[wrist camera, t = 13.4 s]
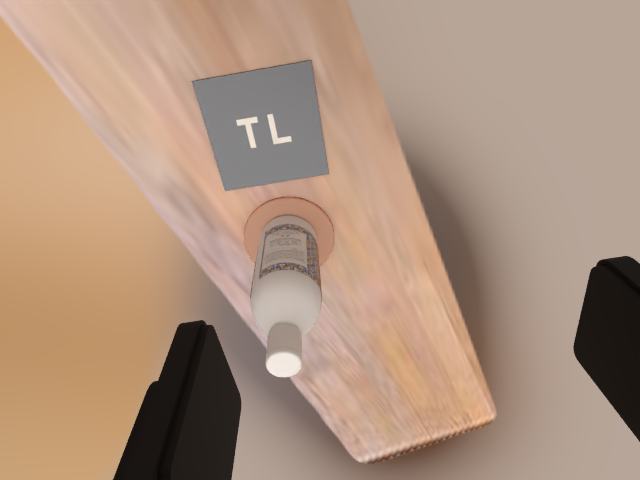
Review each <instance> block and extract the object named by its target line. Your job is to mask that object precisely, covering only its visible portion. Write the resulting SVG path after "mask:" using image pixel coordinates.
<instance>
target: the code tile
mask: <svg viewBox="0 0 640 480" xmlns="http://www.w3.org/2000/svg"><path fill="white" fill-rule="evenodd" d="M192 83H193V86H194V90H195V93H196V96H197V100H198V103H199V106H200V109H201V113H202V116H203V119H204V123H205V126H206V129H207V133H208V136H209V139H210V143H211V146H212V149H213V153H214V156H215V159H216V162H217V166H218V169H219V172H220V176H221V179H222V182H223V186H224V189H225V191H229V190H235V189H241V188H247V187H253V186H259V185H265V184H271V183H277V182H283V181H289V180H295V179H302V178H308V177H314V176H320V175H326V174H329V172H328V166H327V159H326V153H325V146H324V140H323V133H322V127H321V121H320V114H319V108H318V101H317V95H316V89H315V82H314V76H313V69H312V63H311V60H310V61H305V62H299V63H293V64H288V65H282V66H276V67H271V68H265V69H260V70H254V71H248V72H243V73H237V74H231V75H226V76H220V77H214V78H209V79H203V80H197V81H192Z"/></svg>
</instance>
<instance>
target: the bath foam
mask: <svg viewBox="0 0 640 480" xmlns="http://www.w3.org/2000/svg"><path fill="white" fill-rule="evenodd" d="M250 298H251V310H252V314H253V317H254V320H255V322H256V324H257V325H258V327H259V328H260V329H261V331H262V332H263V333H264V334H265V335H266V336H267V337H268V342H267V352H266V368H267V369H268V371H269V372H270V373H271V374H273V375H275V376H278V377H289V376H292V375H294V374H296V373H297V372H298V371H299V370H300V368H301V365H302V337H303V336H305V335H306V334H307V333H308V332H309V331H310V329H311V328H312V327H313V326H314V324H315V322H316V321H317V318H318V316H319V313H320V309H321V302H322V292H321V279H320V266H319V254H318V243H317V236H316V233H315V230H314V229H313V227H312V226H311V225H310V224H309V223H308V222H307V221H305V220H303V219H301V218H299V217H296V216H281V217H278V218H275V219H273V220H271V221H270V222H269V223H268V224H267V225H266V226H265V227H264V228H263V230H262V232H261V235H260V241H259V247H258V251H257V257H256V263H255V270H254V276H253V282H252V288H251V295H250Z"/></svg>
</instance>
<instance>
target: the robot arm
mask: <svg viewBox="0 0 640 480" xmlns="http://www.w3.org/2000/svg"><path fill="white" fill-rule="evenodd" d="M574 353H575V356H576V358H577V360H578V361H579V363H580V364H581V365H582V367H583V368H584V369H585V371H586V372H587V373H588V375H589V376H590V377H591V379H592V380H593V381H594V382H595V384H596V385H597V386H598V388H599V389H600V390H601V392H602V393H603V394H604V396H605V397H606V398H607V399H608V401H609V402H610V403H611V405H612V406H613V407H614V409H615V410H616V411H617V412H618V413H619V415H620V416H621V418H622V419H623V420H624V422H625V423H626V424H627V426H628V427H629V428H630V430H631V431H632V432H633V433H634V435H635V436H636V437H637V439H638V440H639V441H640V264H639V263H638V262H637V261H636V260H634V259H633V258H631V257H628V256H623V257H616V258H609V259H603V260H600V261H599V262H598V263H597V265H596V267H593V268H592V269H591V272H590V276H589V280H588V285H587V289H586V293H585V298H584V302H583V306H582V311H581V315H580V320H579V324H578V328H577V333H576V337H575V342H574ZM240 412H241V397H240V393H239V391H238V388H237V385H236V383H235V380H234V378H233V375H232V373H231V370H230V368H229V365H228V362H227V360H226V357H225V355H224V352H223V350H222V347H221V344H220V342H219V339H218V337H217V334H216V332H215V329H214V327H213V326H212V325H206V323H205V322H204V321H203V320H200V321H194V322H187V323H181V324H180V325H179V326H178V328H177V330H176V333H175V336H174V339H173V341H172V344H171V347H170V349H169V352H168V356H167V358H166V361H165V363H164V366H163V369H162V372H161V374H160V377H159V380H158V381H155V382H153V383H152V384H151V385H150V386H149V388H148V390H147V392H146V395H145V397H144V400H143V403H142V405H141V408H140V410H139V413H138V416H137V418H136V421H135V424H134V426H133V429H132V431H131V434H130V437H129V439H128V442H127V445H126V447H125V450H124V452H123V455H122V458H121V460H120V463H119V466H118V468H117V471H116V474H115V476H114V479H113V480H231V477H232V470H233V463H234V456H235V449H236V441H237V434H238V427H239V419H240Z"/></svg>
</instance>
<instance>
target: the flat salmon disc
mask: <svg viewBox="0 0 640 480" xmlns="http://www.w3.org/2000/svg"><path fill="white" fill-rule="evenodd" d="M281 216H296V217H299V218H301V219H303V220H305V221H307V222H308V223H309V224H310V225H311V226H312V227H313V229H314V230H315V233H316V236H317V243H318V254H319V266H321V265H322V264H323V263H324V262H325V261H326V260H327V259H328V257H329V256H330V254H331V252H332V249H333V245H334V231H333V226H332V224H331V221H330V219H329V218H328V216H327V215H326V213H325V212H324V211H323V210H322V209H321V208H319V207H318V206H317V205H315V204H313V203H312V202H310V201H307V200H305V199H301V198H295V197H282V198H277V199H273V200H270V201H268V202H266V203H264V204H262V205H261V206H259V207H258V208H257V209H256V210H255V211H254V212H253V213H252V214H251V216H250V218H249V219H248V221H247V224H246V227H245V231H244V243H245V248H246V250H247V253H248V254H249V256H250V258H251V259H252V260H253V261H254V262H255V263H256V257H257V251H258V247H259V241H260V235H261V232H262V230H263V228H264V227H265V226H266V225H267V224H268V223H269V222H270V221H271V220H273V219H275V218H278V217H281Z"/></svg>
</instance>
